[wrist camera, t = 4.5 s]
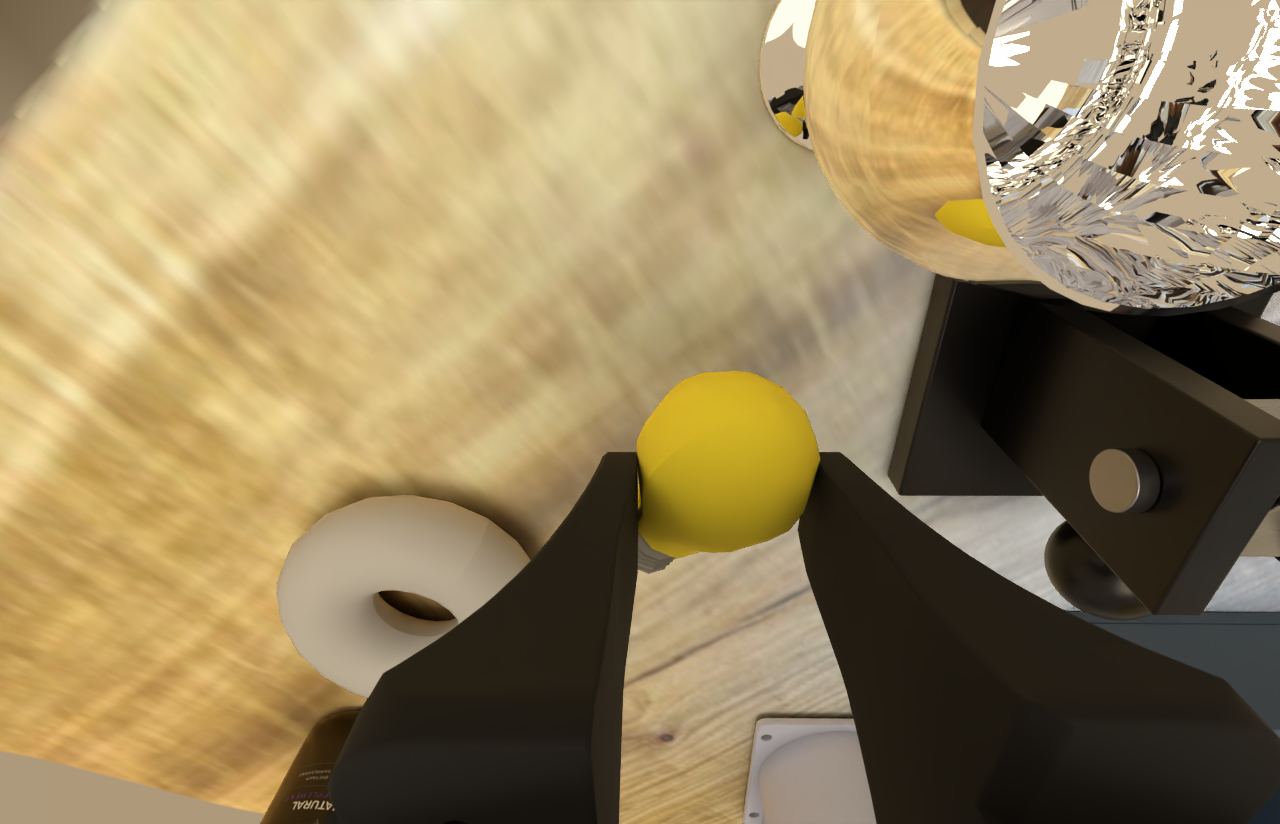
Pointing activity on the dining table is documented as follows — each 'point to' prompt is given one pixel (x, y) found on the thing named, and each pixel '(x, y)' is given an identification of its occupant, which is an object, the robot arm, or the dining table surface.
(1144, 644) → the bin
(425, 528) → the donut
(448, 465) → the dining table surface
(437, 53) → the dining table surface
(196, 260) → the dining table surface
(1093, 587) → the lever
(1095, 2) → the wineglass
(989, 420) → the bracket
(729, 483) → the light bulb
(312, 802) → the supplement bottle
